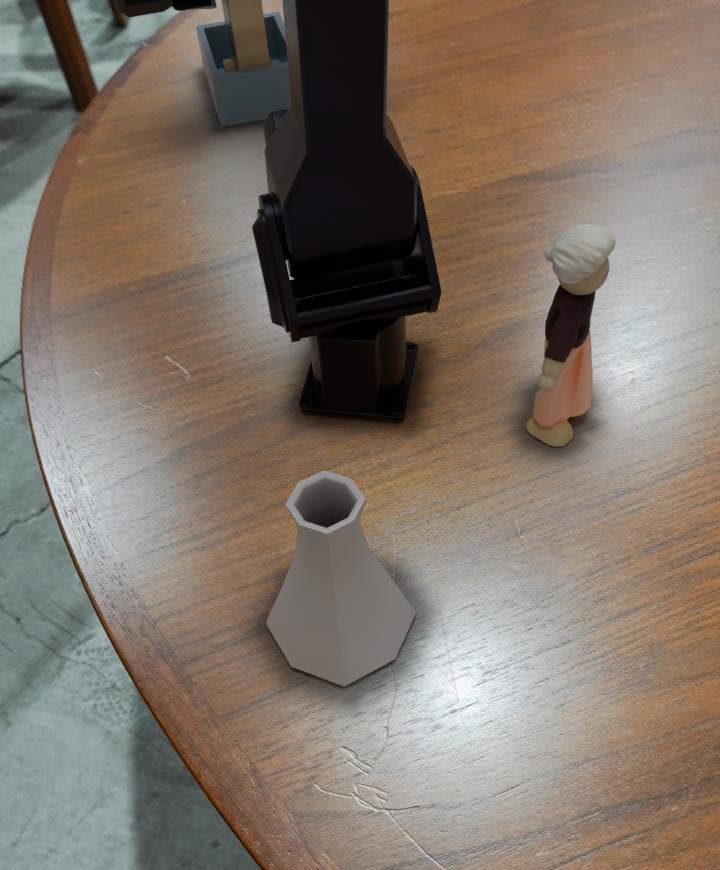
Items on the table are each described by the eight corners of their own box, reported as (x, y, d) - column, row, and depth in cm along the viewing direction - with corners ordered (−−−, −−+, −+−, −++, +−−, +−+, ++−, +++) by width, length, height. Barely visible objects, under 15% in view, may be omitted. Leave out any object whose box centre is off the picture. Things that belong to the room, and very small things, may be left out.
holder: (306, 112, 74) (302, 63, 71) (221, 127, 73) (212, 79, 70) (284, 59, 79) (279, 11, 76) (204, 73, 78) (195, 25, 75)
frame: (283, 100, 74) (263, -63, 64) (236, 108, 74) (209, -54, 64) (269, 65, 78) (248, -95, 68) (224, 73, 77) (197, -86, 67)
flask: (441, 613, 46) (447, 491, 37) (345, 713, 43) (329, 604, 34) (337, 539, 49) (321, 411, 40) (241, 628, 46) (204, 509, 37)
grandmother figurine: (587, 463, 51) (631, 281, 40) (519, 457, 51) (545, 276, 41) (589, 368, 55) (629, 182, 45) (526, 363, 56) (551, 179, 45)
